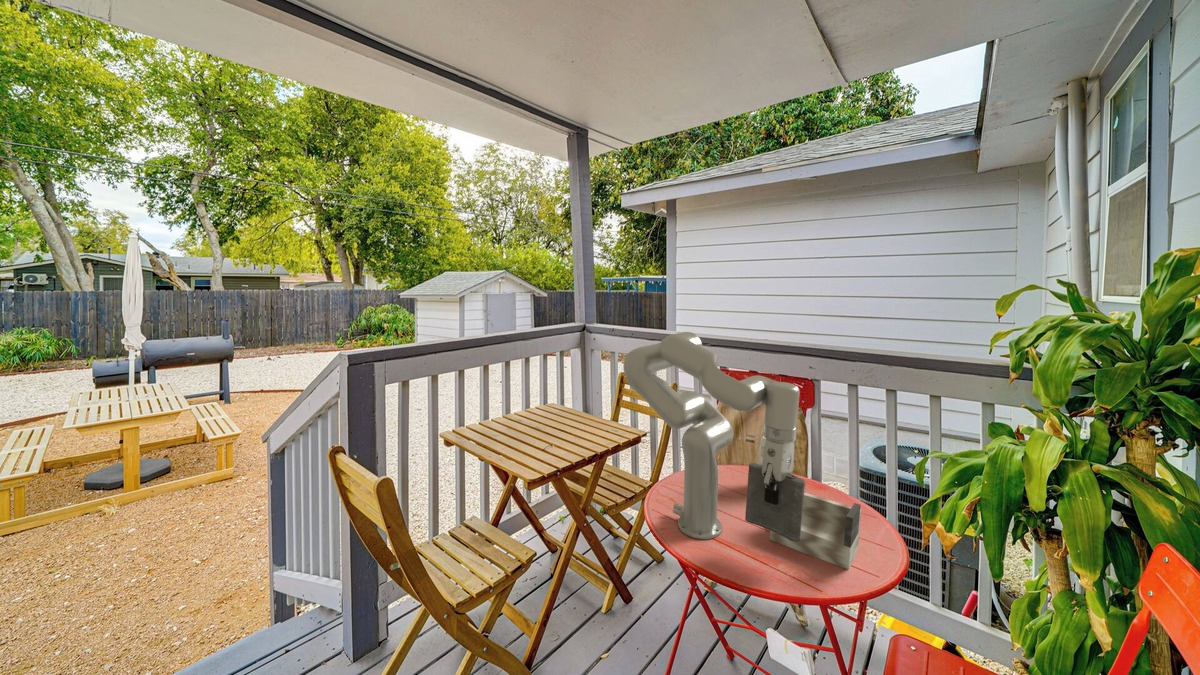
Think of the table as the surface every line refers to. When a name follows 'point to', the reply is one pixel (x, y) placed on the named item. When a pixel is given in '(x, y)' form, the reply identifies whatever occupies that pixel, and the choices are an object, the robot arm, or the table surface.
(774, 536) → the stone display stand
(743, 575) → the table surface
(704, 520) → the robot arm
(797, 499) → the flask
